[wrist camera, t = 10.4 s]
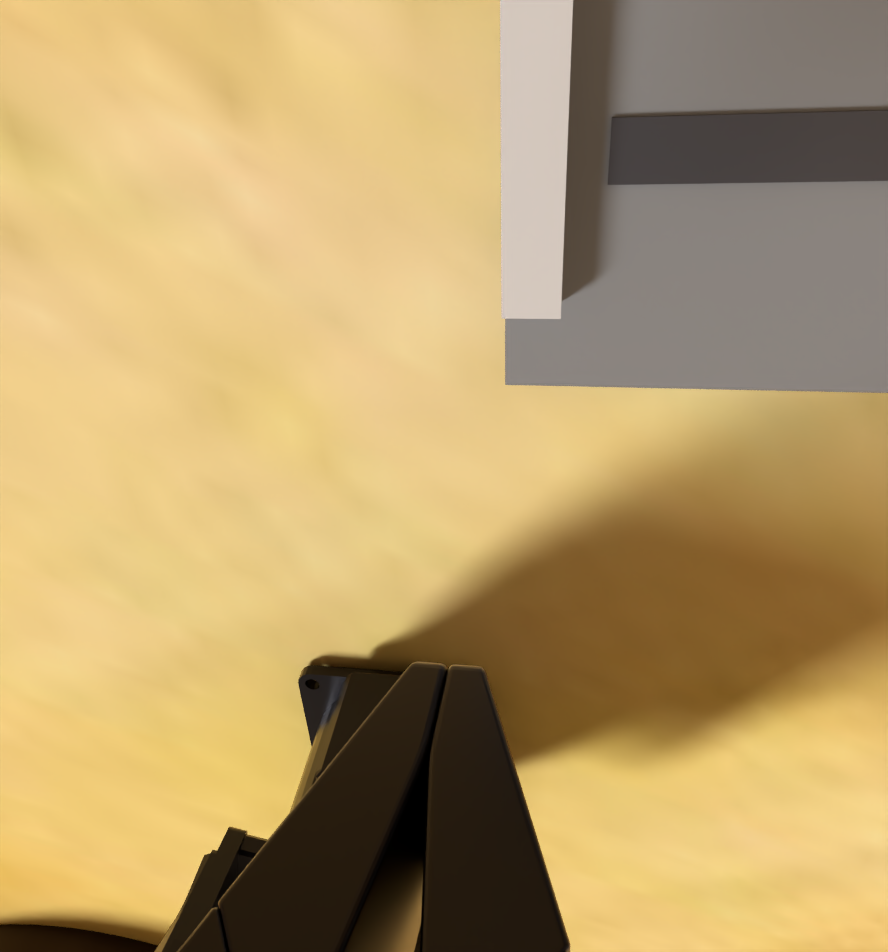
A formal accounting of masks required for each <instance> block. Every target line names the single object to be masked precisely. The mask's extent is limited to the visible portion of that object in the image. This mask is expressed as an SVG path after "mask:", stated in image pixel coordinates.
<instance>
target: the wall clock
mask: <svg viewBox="0 0 888 952" xmlns="http://www.w3.org/2000/svg"><path fill="white" fill-rule="evenodd" d="M157 947H158V946H157V945H153V944H149V943H146V942H142V941H138V940H133V939H129V938H125V937H120V936H116V935H110V934H105V933H100V932H94V931H88V930H81V929H74V928H66V927H56V926H44V925H19V924H9V925H0V952H155V950H156V948H157Z"/></svg>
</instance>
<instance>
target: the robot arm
mask: <svg viewBox="0 0 888 952" xmlns="http://www.w3.org/2000/svg"><path fill="white" fill-rule="evenodd" d="M315 680H316V681H315ZM298 684H299V689H300V693H301V698H302V703H303V707H304V712H305V717H306V722H307V726H308V731H309V736H310V740H311V745H312V748H311V751H310V754H309V757H308V760H307V763H306V766H305V769H304V772H303V775H302V778H301V781H300V784H299V787H298V790H297V793H296V796H295V799H294V802H293V805H292V808H291V811H290V813H289V815H288V816H287V817H286V818H285V820H284V821H283V822H282V823H281V824H280V826H279V827H278V828H277V829H276V831H275V832H274V833H273V834H272V836H271V837H270V838H269V839H268V840H267V839H263V838H259V837H255V836H251V835H247V831H245V830H241V829H237V828H233V827H229V828H228V830H227V832H226V834H225V836H224V838H223V840H222V843H221V845H220V847H219V849H218V851H215V850H212V852H211V853H210V854H207V855H204V857H203V860H202V862H201V864H200V867H199V869H198V872H197V874H196V876H195V879H194V881H193V884H192V886H191V888H190V891H189V893H188V895H187V898H186V900H185V902H184V904H183V906H182V908H181V910H180V912H179V914H178V915H177V917H176V919H175V920H174V922H173V924H172V925H171V927H170V928H169V930H168V931H167V933H166V934H165V936H164V938H163V939H162V941H161V942H160V944H159V945H158V947H157V948H156V950H155V952H570V942H569V939H568V936H567V933H566V929H565V926H564V923H563V920H562V916H561V913H560V910H559V907H558V903H557V900H556V897H555V894H554V891H553V887H552V884H551V881H550V878H549V874H548V871H547V868H546V865H545V862H544V858H543V855H542V852H541V849H540V845H539V842H538V839H537V836H536V832H535V829H534V826H533V823H532V820H531V816H530V813H529V810H528V807H527V803H526V800H525V797H524V794H523V791H522V787H521V784H520V781H519V778H518V774H517V771H516V768H515V765H514V761H513V758H512V755H511V752H510V749H509V745H508V742H507V739H506V736H505V732H504V729H503V726H502V723H501V720H500V716H499V713H498V710H497V707H496V703H495V700H494V697H493V694H492V690H491V687H490V684H489V681H488V678H487V674H486V672H485V670H484V669H483V668H482V667H480V666H471V665H458V664H454V665H451V666H450V667H449V668H447V666H446V665H445V664H442V663H431V662H414V663H412V664H411V665H410V666H409V667H408V668H407V669H406V670H405V671H404V672H393V671H380V670H367V669H353V668H340V667H327V666H307V667H305V668H304V669H303V670H302V672H301V675H300V677H299V682H298Z"/></svg>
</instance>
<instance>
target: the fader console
mask: <svg viewBox="0 0 888 952" xmlns="http://www.w3.org/2000/svg"><path fill="white" fill-rule="evenodd" d="M500 62H501V272H502V318H504V319H505V385H542V386H589V387H636V388H683V389H730V390H777V391H824V392H871V393H888V0H500Z"/></svg>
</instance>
